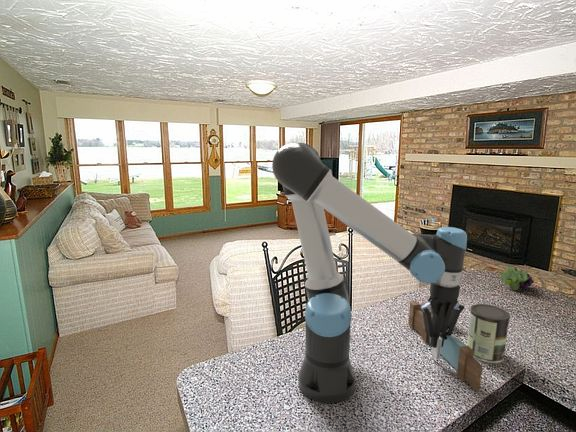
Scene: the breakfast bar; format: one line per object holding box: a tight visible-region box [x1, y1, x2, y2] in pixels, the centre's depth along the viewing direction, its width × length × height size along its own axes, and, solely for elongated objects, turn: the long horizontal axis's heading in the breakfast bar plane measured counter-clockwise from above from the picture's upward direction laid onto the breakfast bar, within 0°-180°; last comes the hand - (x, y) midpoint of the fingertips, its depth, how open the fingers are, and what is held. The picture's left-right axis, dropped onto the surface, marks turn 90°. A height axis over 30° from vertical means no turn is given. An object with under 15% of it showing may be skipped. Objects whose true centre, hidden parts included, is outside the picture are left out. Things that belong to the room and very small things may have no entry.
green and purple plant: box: [500, 266, 535, 292], centre depth 152 cm, size 10×11×15 cm
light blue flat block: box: [428, 333, 467, 371], centre depth 101 cm, size 15×2×8 cm, turn 10°
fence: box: [408, 301, 483, 391], centre depth 104 cm, size 15×34×9 cm, turn 8°
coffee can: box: [466, 303, 511, 364], centre depth 103 cm, size 10×10×14 cm
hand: (435, 356), depth 100 cm, fingers closed
